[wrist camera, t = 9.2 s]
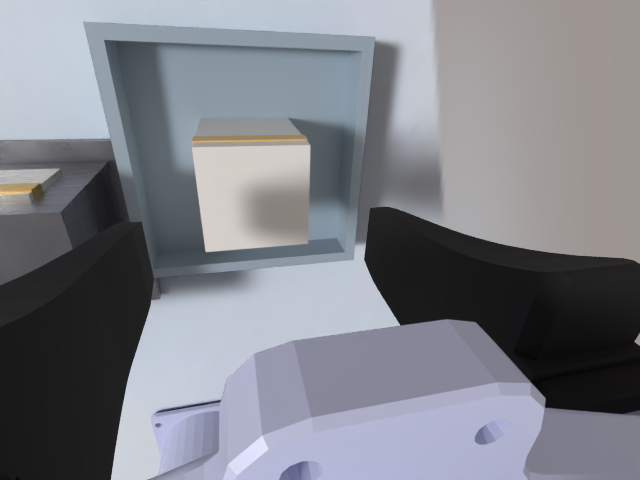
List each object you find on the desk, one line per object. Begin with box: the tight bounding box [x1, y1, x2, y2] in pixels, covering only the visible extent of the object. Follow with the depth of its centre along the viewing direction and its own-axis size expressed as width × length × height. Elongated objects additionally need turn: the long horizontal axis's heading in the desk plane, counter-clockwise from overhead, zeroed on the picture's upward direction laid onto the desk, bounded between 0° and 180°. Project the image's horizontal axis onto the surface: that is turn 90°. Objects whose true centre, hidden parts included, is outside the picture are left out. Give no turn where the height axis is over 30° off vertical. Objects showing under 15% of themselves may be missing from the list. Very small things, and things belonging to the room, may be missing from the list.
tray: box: [83, 22, 375, 278], centre depth 19 cm, size 12×12×2 cm
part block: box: [192, 118, 310, 252], centre depth 17 cm, size 5×5×6 cm
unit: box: [0, 139, 161, 300], centre depth 17 cm, size 10×10×8 cm
